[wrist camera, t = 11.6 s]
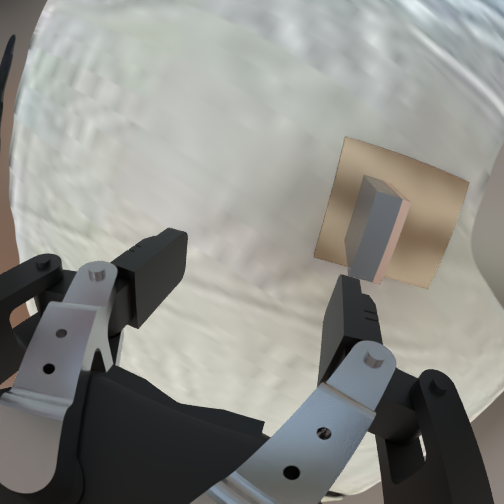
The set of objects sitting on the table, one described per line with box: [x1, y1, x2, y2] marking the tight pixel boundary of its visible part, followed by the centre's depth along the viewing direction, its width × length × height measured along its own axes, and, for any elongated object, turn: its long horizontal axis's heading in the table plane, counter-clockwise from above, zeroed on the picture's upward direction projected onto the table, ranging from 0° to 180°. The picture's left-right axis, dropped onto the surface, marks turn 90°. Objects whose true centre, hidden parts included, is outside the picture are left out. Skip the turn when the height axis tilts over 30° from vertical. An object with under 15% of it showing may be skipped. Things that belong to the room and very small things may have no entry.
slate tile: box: [344, 175, 411, 284], centre depth 20 cm, size 6×2×7 cm, turn 169°
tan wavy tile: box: [314, 137, 469, 289], centre depth 23 cm, size 11×12×1 cm
